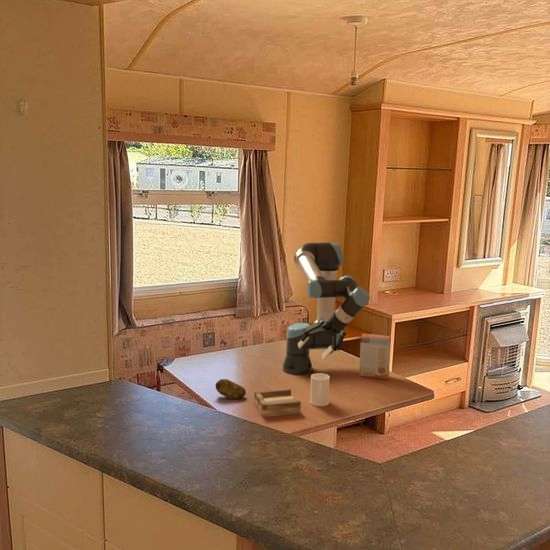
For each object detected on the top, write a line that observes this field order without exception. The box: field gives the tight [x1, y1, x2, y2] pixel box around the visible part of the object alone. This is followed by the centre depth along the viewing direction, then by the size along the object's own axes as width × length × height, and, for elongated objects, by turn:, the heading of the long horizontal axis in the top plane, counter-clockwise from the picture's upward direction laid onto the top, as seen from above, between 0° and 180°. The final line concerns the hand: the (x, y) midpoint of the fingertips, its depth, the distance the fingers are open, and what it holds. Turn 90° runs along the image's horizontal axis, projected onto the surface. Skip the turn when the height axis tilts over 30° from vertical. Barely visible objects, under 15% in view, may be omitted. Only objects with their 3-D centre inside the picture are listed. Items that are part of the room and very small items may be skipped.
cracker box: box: [358, 332, 392, 381], centre depth 277 cm, size 14×6×21 cm, turn 71°
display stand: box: [254, 388, 302, 418], centre depth 239 cm, size 15×16×5 cm
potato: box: [215, 378, 247, 400], centre depth 249 cm, size 8×13×8 cm, turn 68°
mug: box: [309, 372, 331, 407], centre depth 243 cm, size 12×8×12 cm
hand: (310, 352), depth 247 cm, fingers open, 13 cm apart
